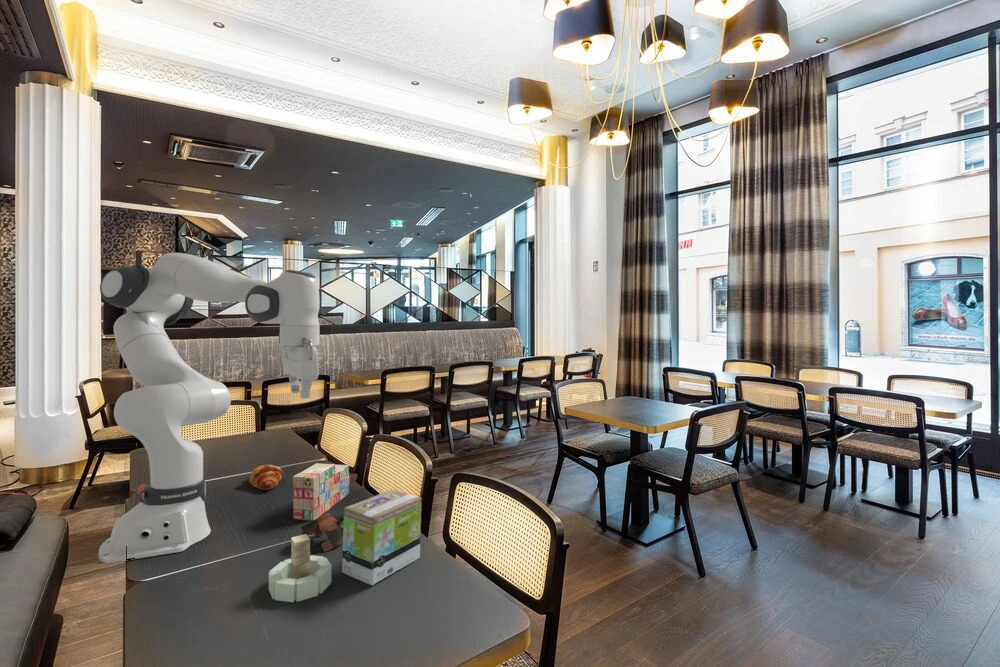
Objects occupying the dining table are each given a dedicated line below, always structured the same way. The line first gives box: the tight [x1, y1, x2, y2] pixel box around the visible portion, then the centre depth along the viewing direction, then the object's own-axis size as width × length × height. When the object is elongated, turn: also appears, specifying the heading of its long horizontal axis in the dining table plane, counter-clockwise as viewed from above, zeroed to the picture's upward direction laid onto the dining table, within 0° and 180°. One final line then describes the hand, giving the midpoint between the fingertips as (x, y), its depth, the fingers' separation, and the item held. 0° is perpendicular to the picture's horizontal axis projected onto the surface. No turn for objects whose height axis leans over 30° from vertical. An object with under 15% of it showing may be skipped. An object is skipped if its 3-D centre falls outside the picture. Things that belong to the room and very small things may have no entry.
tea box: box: [341, 489, 422, 586], centre depth 110 cm, size 15×10×15 cm, turn 148°
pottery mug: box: [300, 512, 344, 553], centre depth 121 cm, size 12×10×8 cm
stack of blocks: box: [292, 462, 350, 522], centre depth 144 cm, size 21×6×12 cm, turn 171°
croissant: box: [248, 464, 284, 491], centre depth 163 cm, size 21×10×8 cm, turn 31°
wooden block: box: [290, 534, 311, 579], centre depth 101 cm, size 3×3×10 cm
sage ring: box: [268, 554, 332, 603], centre depth 101 cm, size 12×12×4 cm
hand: (299, 395), depth 117 cm, fingers open, 8 cm apart
